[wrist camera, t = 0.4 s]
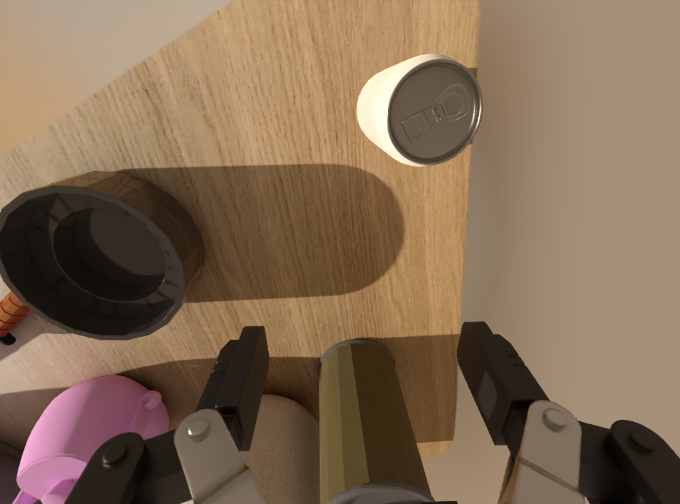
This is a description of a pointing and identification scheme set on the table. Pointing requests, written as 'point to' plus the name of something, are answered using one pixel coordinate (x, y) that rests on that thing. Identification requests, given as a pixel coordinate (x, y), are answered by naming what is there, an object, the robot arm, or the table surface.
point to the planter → (285, 452)
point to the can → (421, 109)
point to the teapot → (84, 433)
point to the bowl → (100, 254)
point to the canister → (366, 430)
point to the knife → (10, 317)
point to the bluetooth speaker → (9, 474)
